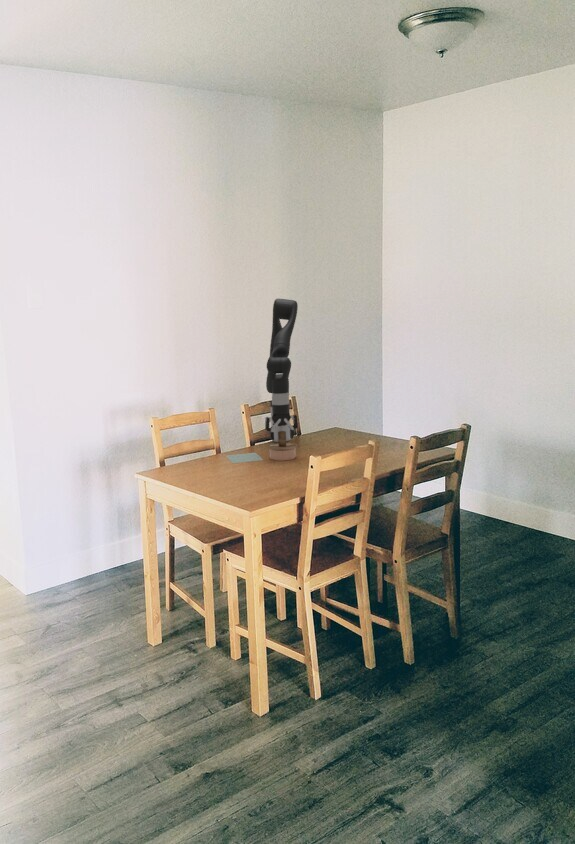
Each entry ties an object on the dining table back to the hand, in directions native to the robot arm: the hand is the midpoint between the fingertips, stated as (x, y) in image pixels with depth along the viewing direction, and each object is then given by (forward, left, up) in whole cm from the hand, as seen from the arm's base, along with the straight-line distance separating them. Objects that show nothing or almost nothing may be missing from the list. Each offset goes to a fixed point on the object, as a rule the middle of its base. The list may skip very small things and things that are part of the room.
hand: (282, 439), depth 315 cm
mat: (-7, -16, -9) cm, 20 cm away
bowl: (0, 0, -9) cm, 9 cm away
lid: (0, 0, -4) cm, 4 cm away
